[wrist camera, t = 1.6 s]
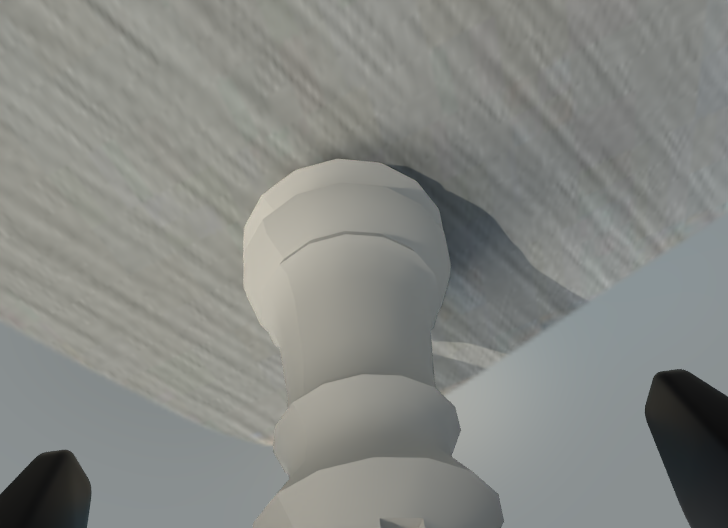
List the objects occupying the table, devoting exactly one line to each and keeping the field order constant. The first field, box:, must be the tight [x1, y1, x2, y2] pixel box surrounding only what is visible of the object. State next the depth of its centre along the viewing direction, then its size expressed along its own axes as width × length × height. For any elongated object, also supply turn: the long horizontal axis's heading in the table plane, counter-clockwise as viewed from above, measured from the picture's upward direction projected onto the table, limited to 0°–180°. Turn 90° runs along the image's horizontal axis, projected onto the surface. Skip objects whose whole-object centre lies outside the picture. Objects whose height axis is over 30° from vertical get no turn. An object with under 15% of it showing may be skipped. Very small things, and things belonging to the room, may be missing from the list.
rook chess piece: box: [243, 159, 504, 528], centre depth 10 cm, size 4×4×8 cm
